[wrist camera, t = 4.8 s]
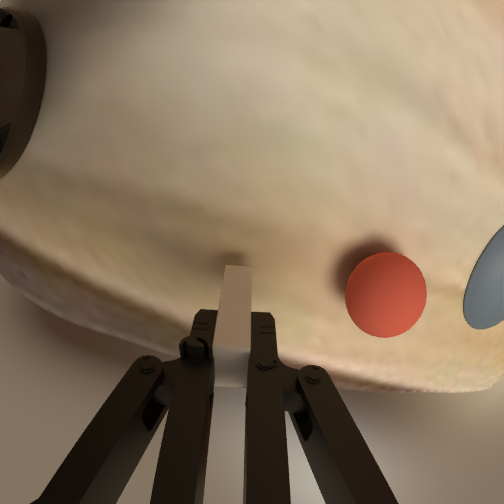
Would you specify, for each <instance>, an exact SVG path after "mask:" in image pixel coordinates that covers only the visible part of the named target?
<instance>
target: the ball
mask: <svg viewBox="0 0 504 504" xmlns="http://www.w3.org/2000/svg"><path fill="white" fill-rule="evenodd" d="M426 297H427V291H426V284H425V280H424V277H423V275H422V273H421V271H420V269H419V268H418V267H417V266H416V264H415V263H414V262H413V261H411V260H410V259H409V258H407V257H405V256H403V255H401V254H397V253H393V252H381V253H377V254H374V255H371V256H369V257H367V258H366V259H364V260H363V261H362V262H360V263H359V264H358V265H357V266H356V268H355V269H354V270H353V272H352V273H351V275H350V277H349V279H348V282H347V285H346V291H345V300H346V307H347V310H348V313H349V315H350V317H351V319H352V320H353V322H354V323H355V324H356V325H357V326H358V327H359V328H360V329H361V330H362V331H364V332H365V333H367V334H369V335H372V336H376V337H383V338H387V337H394V336H397V335H400V334H402V333H404V332H406V331H407V330H409V329H410V328H411V327H412V326H413V325H414V324H415V323H416V322H417V321H418V319H419V318H420V316H421V314H422V312H423V310H424V307H425V303H426Z"/></svg>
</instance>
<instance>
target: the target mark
mask: <svg viewBox="0 0 504 504" xmlns="http://www.w3.org/2000/svg"><path fill="white" fill-rule="evenodd" d="M463 310H464V316H465V319H466V321H467V322H468V324H469V325H470V326H471V327H473V328H475V329H486V328H490V327H492V326H495V325H496V324H498V323H500V322H501V321H503V320H504V226H503V227H502V228H501V229H500V230H499V231H498V232H497V233H496V234H495V236H494V237H493V238H492V239H491V241H490V242H489V243H488V245H487V246H486V248H485V249H484V251H483V252H482V254H481V256H480V257H479V259H478V261H477V263H476V265H475V267H474V269H473V272H472V274H471V276H470V279H469V282H468V284H467V288H466V292H465V296H464V304H463Z"/></svg>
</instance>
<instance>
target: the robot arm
mask: <svg viewBox="0 0 504 504" xmlns="http://www.w3.org/2000/svg"><path fill="white" fill-rule="evenodd" d="M45 73H46V45H45V39H44V34H43V31H42V28H41V26H40V24H39V22H38V21H37V19H36V18H35V17H34V16H33V15H31V14H30V13H28V12H25V11H21V10H17V9H12V8H0V177H2V176H3V175H5V174H6V173H7V172H8V171H9V170H10V169H11V168H12V167H13V165H14V164H15V163H16V161H17V160H18V158H19V157H20V155H21V154H22V152H23V150H24V148H25V146H26V144H27V142H28V140H29V137H30V135H31V132H32V130H33V127H34V124H35V121H36V118H37V114H38V111H39V107H40V103H41V98H42V94H43V88H44V81H45ZM251 278H252V266H236V265H226V267H225V273H224V279H223V285H222V291H221V297H220V303H219V309H218V310H206V309H200V310H199V311H198V312H197V314H196V315H195V317H194V321H193V325H192V329H191V333H190V336H188V337H185V338H184V339H183V340H181V342H180V344H179V348H180V355H181V357H180V358H178V359H176V360H172V361H166V362H161V360H160V359H159V358H157V357H155V356H150V355H147V356H142V357H140V358H138V359H137V360H136V361H135V362H134V363H133V364H132V366H131V367H130V368H129V370H128V371H127V372H126V374H125V375H124V377H123V378H122V379H121V380H120V382H119V383H118V385H117V386H116V388H115V389H114V390H113V391H112V393H111V394H110V396H109V397H108V398H107V400H106V401H105V403H104V404H103V405H102V407H101V408H100V410H99V411H98V412H97V414H96V415H95V417H94V418H93V420H92V421H91V422H90V424H89V425H88V426H87V428H86V429H85V431H84V432H83V434H82V435H81V437H80V438H79V439H78V441H77V442H76V444H75V445H74V447H73V448H72V450H71V451H70V453H69V454H68V455H67V457H66V458H65V460H64V461H63V463H62V464H61V466H60V467H59V469H58V470H57V472H56V473H55V475H54V476H53V478H52V479H51V481H50V482H49V484H48V485H47V487H46V488H45V490H44V491H43V493H42V494H41V496H40V497H39V498H38V499H37V500H35V501H34V502H32V503H30V504H116V502H117V501H118V499H119V497H120V495H121V493H122V491H123V490H124V488H125V486H126V484H127V483H128V481H129V479H130V477H131V475H132V473H133V472H134V470H135V468H136V466H137V465H138V463H139V461H140V459H141V457H142V456H143V454H144V452H145V450H146V448H147V447H148V445H149V443H150V441H151V439H152V438H153V436H154V434H155V432H156V430H157V429H158V427H159V425H160V423H161V421H162V420H163V418H164V416H165V414H166V412H167V410H168V409H169V411H168V415H167V420H166V424H165V429H164V433H163V439H162V443H161V448H160V453H159V458H158V463H157V468H156V473H155V478H154V484H153V489H152V495H151V500H150V504H203V497H204V485H205V476H206V465H207V455H208V445H209V435H210V426H211V417H212V408H213V399H214V390H213V389H214V386H223V387H238V388H247V392H246V403H245V406H246V415H245V451H244V452H245V453H244V488H243V489H244V490H243V504H291V502H290V483H289V467H288V452H287V438H286V424H285V411H288V412H289V415H290V417H291V420H292V422H293V425H294V428H295V430H296V433H297V435H298V438H299V440H300V443H301V445H302V448H303V450H304V453H305V455H306V457H307V460H308V462H309V465H310V467H311V469H312V472H313V474H314V477H315V479H316V482H317V484H318V486H319V489H320V491H321V494H322V496H323V498H324V501H325V503H326V504H398V502H397V500H396V498H395V496H394V494H393V492H392V490H391V489H390V487H389V485H388V483H387V481H386V479H385V477H384V476H383V474H382V472H381V470H380V468H379V466H378V464H377V463H376V461H375V459H374V457H373V455H372V453H371V452H370V450H369V448H368V446H367V444H366V442H365V440H364V439H363V437H362V435H361V433H360V431H359V429H358V427H357V426H356V424H355V422H354V420H353V418H352V416H351V415H350V413H349V411H348V409H347V407H346V405H345V404H344V402H343V400H342V398H341V396H340V395H339V393H338V391H337V389H336V387H335V385H334V384H333V382H332V380H331V378H330V376H329V374H328V373H327V372H326V371H325V369H323V368H321V367H320V366H316V365H307V366H305V367H303V368H302V369H300V370H298V369H294V368H291V367H288V366H286V365H284V364H283V363H282V362H281V361H280V359H279V358H278V353H277V341H276V329H275V319H274V318H273V316H272V315H271V313H267V312H251Z"/></svg>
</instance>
